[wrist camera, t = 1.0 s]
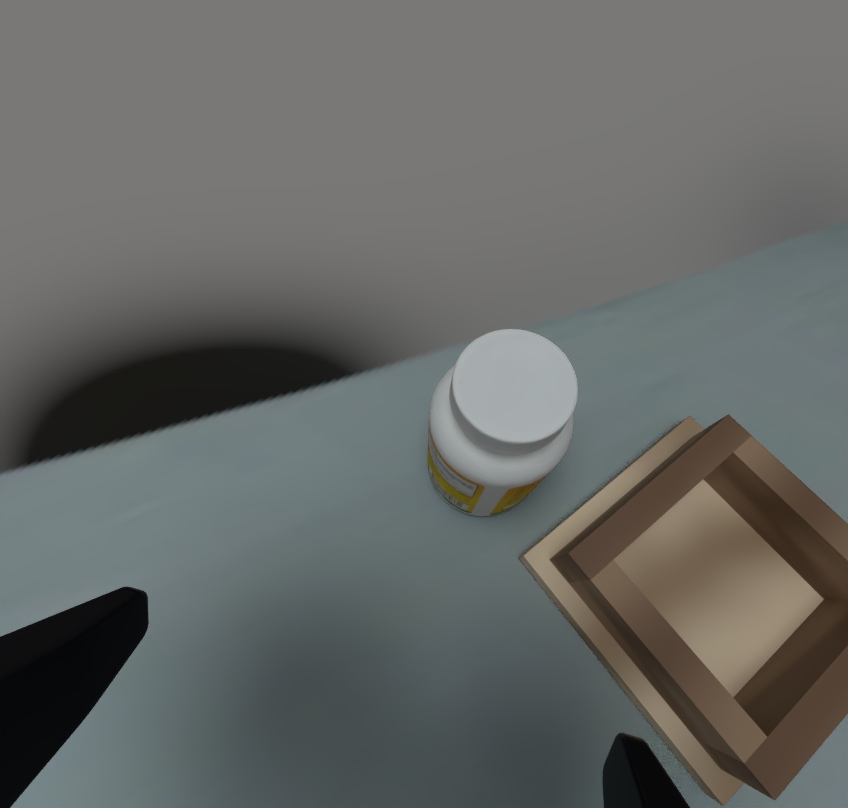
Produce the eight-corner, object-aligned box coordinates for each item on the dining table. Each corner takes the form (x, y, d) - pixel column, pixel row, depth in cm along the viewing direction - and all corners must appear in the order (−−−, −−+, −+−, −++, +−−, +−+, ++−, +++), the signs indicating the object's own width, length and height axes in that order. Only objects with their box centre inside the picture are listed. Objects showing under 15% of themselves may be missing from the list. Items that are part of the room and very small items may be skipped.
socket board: (869, 609, 21) (970, 611, 17) (705, 794, 18) (780, 845, 14) (678, 424, 24) (725, 390, 20) (518, 558, 22) (538, 548, 18)
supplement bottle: (422, 511, 23) (418, 454, 14) (433, 410, 25) (436, 303, 16) (534, 524, 22) (603, 474, 13) (536, 420, 24) (597, 317, 16)
